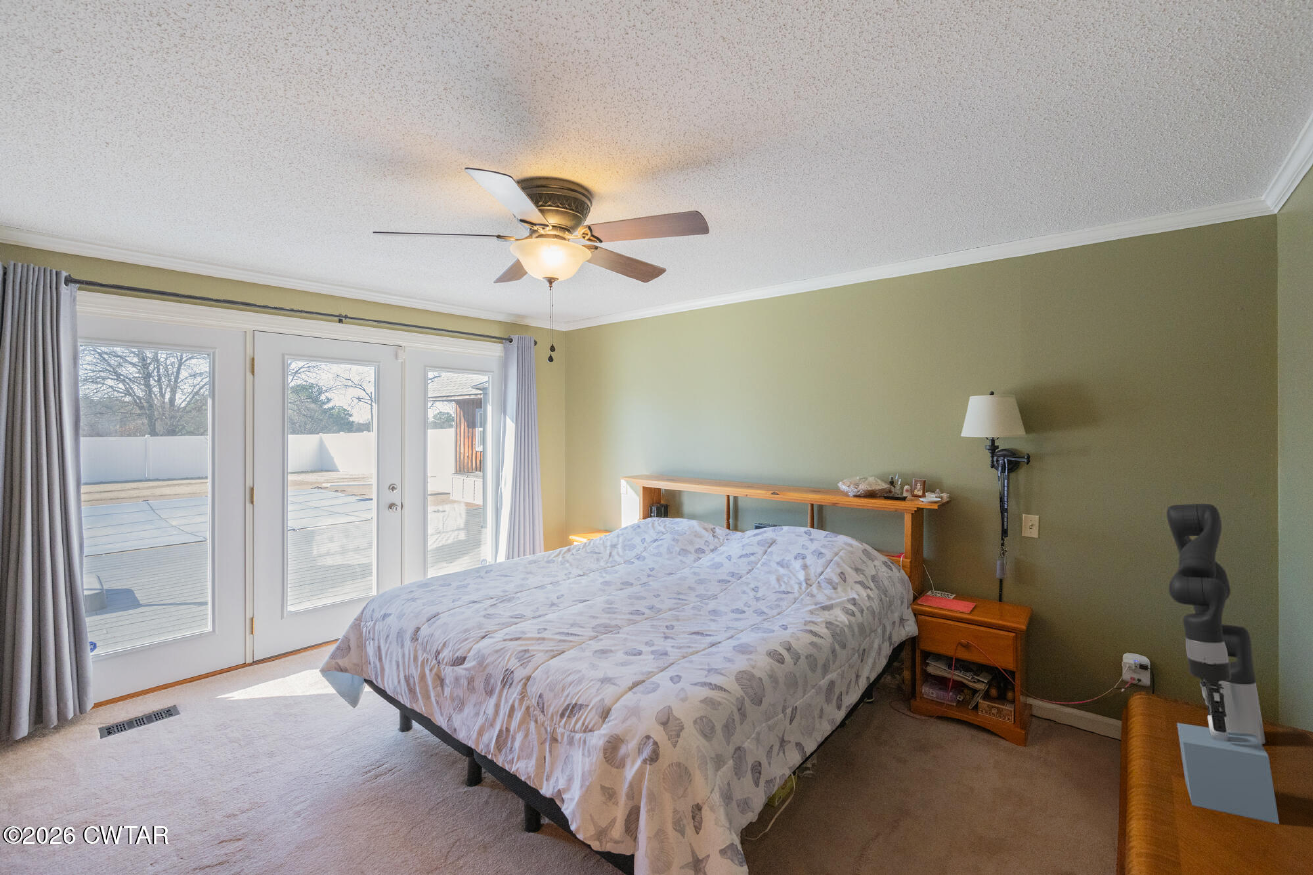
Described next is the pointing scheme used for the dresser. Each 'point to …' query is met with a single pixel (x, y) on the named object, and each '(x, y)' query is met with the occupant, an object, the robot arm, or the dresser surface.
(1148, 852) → the dresser surface
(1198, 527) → the robot arm
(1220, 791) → the block with white knob
